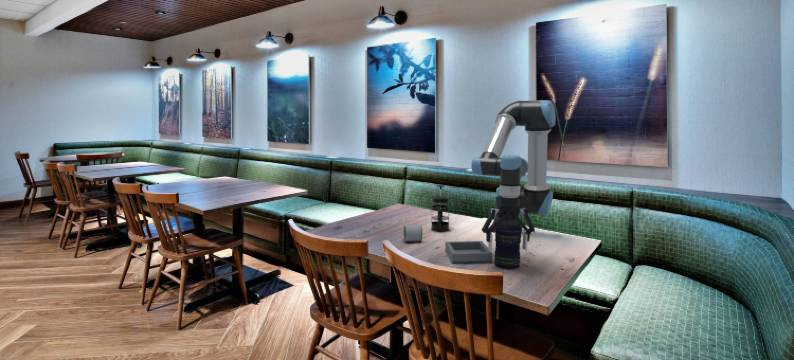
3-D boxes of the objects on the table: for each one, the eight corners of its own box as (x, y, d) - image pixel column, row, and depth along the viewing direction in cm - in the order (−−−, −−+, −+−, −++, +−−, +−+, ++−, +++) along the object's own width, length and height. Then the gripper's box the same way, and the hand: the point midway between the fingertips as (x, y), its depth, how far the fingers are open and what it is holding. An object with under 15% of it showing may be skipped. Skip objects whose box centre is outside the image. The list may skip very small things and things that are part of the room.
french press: (431, 226, 219) (432, 183, 216) (449, 227, 218) (450, 183, 214) (429, 232, 208) (430, 187, 204) (448, 233, 206) (449, 187, 203)
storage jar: (490, 260, 167) (492, 224, 165) (514, 260, 168) (516, 224, 165) (498, 270, 157) (499, 231, 155) (523, 269, 158) (525, 231, 155)
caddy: (481, 249, 181) (482, 240, 180) (492, 262, 165) (492, 252, 164) (445, 250, 180) (445, 241, 179) (452, 263, 164) (452, 253, 164)
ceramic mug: (423, 243, 191) (423, 226, 190) (405, 243, 190) (405, 227, 189) (418, 236, 201) (418, 221, 200) (402, 237, 200) (402, 221, 199)
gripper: (479, 198, 154) (478, 253, 157) (545, 197, 155) (542, 252, 158) (474, 194, 161) (473, 247, 164) (537, 193, 163) (535, 246, 166)
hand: (507, 249), depth 161 cm, fingers open, 13 cm apart
